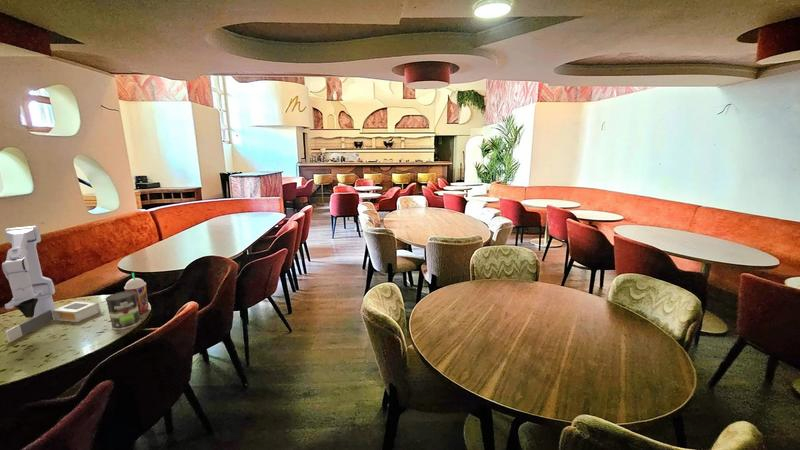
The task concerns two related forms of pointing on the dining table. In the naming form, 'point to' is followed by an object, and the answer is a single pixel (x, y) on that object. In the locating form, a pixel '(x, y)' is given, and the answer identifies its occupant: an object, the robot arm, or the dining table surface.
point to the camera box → (76, 311)
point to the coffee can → (123, 310)
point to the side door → (28, 325)
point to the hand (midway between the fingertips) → (29, 316)
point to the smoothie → (138, 292)
